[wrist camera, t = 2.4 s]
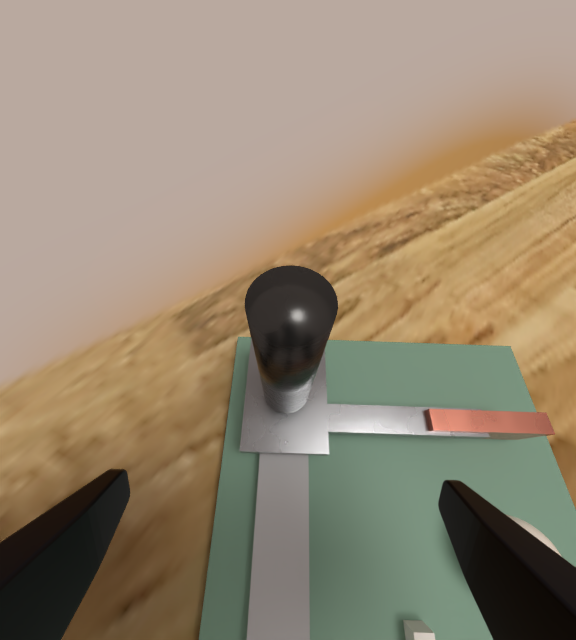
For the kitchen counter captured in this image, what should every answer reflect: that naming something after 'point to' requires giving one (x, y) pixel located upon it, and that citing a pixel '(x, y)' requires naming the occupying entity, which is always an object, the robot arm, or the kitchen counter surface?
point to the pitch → (372, 504)
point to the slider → (310, 380)
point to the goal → (417, 630)
